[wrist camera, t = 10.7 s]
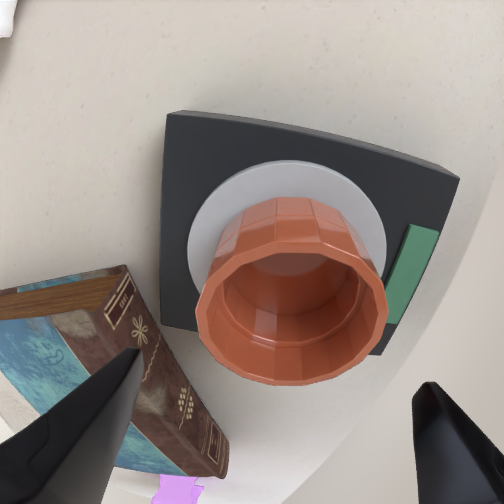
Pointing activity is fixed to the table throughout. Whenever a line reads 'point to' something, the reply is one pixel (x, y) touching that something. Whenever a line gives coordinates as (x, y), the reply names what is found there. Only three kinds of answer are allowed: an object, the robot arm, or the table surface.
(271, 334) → the pot
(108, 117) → the table surface
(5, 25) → the binoculars
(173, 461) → the book
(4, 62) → the table surface
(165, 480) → the toy chair
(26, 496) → the robot arm
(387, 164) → the scale
